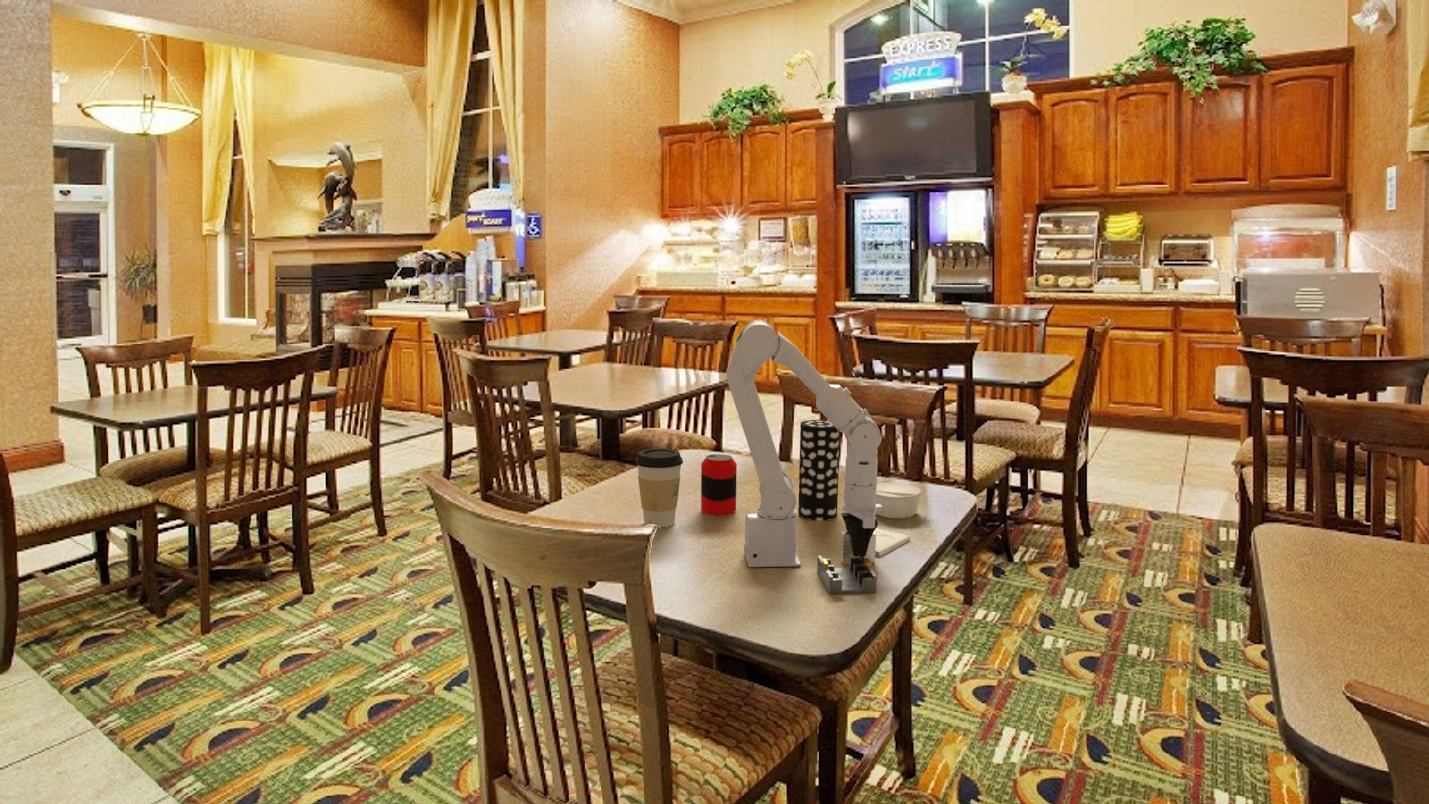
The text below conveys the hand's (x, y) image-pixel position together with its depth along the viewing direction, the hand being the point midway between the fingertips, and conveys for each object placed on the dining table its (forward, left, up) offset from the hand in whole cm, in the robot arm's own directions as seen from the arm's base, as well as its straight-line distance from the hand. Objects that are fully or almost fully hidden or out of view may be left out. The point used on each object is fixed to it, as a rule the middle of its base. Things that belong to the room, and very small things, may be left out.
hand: (858, 553), depth 168 cm
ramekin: (+15, +30, -2) cm, 33 cm away
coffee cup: (-36, +24, -2) cm, 44 cm away
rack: (-4, -10, -1) cm, 11 cm away
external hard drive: (+6, +10, -2) cm, 11 cm away
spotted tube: (-2, +28, -2) cm, 29 cm away
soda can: (-23, +32, -2) cm, 40 cm away
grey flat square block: (0, 0, -2) cm, 2 cm away
